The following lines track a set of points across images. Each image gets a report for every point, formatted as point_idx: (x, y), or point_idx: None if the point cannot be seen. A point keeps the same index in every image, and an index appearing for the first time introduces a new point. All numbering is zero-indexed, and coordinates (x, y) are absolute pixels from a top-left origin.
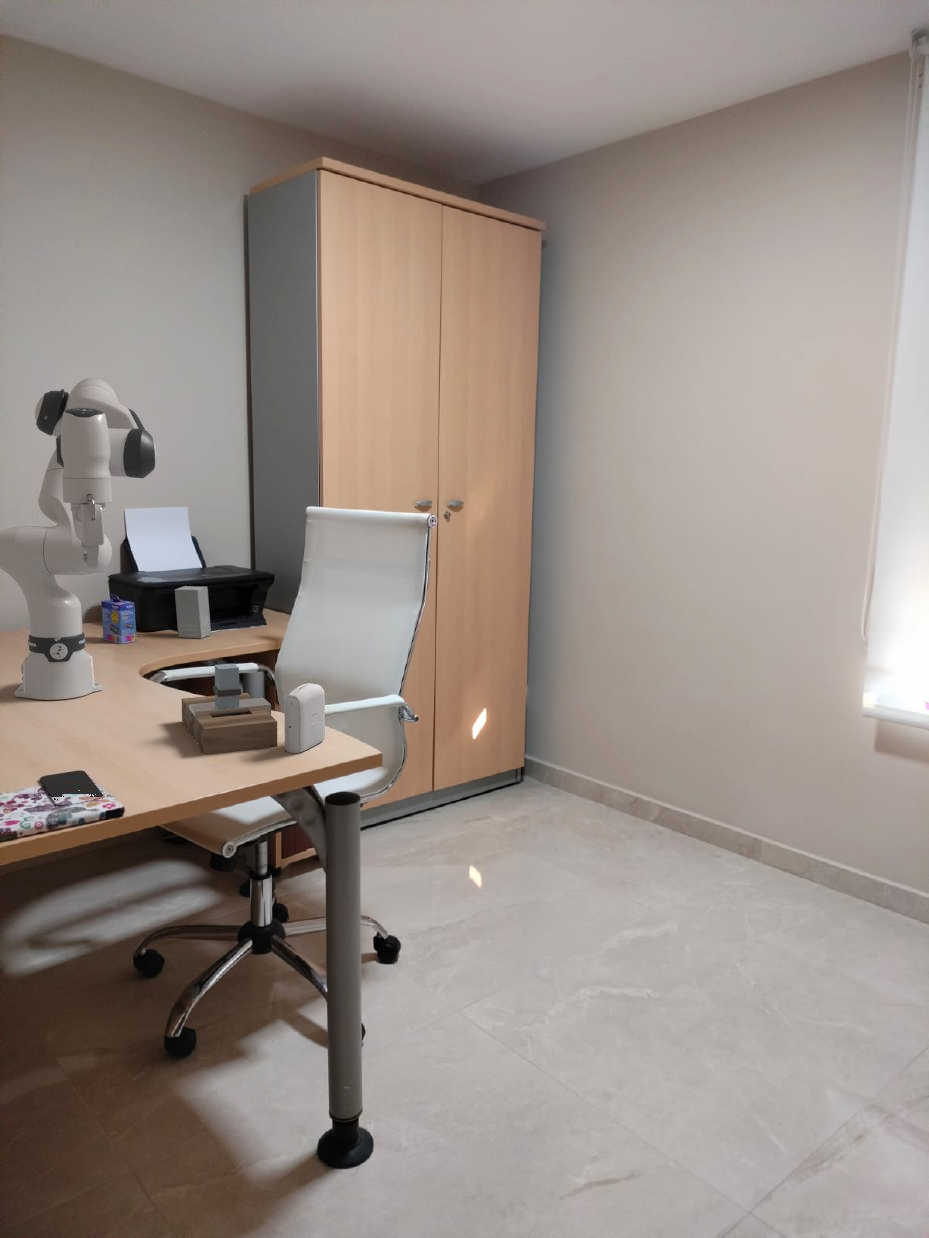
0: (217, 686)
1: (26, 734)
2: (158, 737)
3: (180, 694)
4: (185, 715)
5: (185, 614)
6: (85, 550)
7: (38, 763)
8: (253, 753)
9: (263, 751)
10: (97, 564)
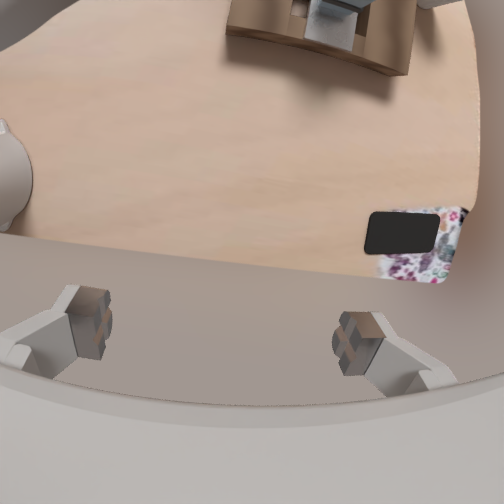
0: (350, 2)
1: (183, 239)
2: (290, 89)
3: (70, 11)
4: (260, 35)
5: None
6: (62, 357)
7: (314, 245)
8: None
9: None
10: (384, 319)
